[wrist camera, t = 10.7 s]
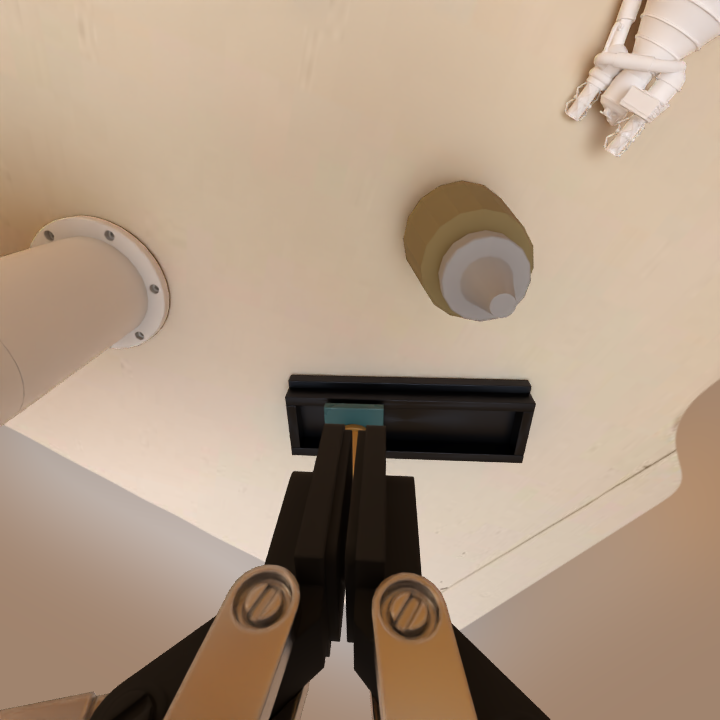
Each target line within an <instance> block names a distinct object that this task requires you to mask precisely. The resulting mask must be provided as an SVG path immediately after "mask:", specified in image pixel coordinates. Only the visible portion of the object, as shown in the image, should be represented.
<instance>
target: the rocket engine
mask: <svg viewBox="0 0 720 720" xmlns="http://www.w3.org/2000/svg"><path fill="white" fill-rule="evenodd" d="M641 3H642V0H623V2H622V5H621V8H620V11H619V13H618V16H617V19H616V23H615V24H614V26H613V28H612V30H611V32H610V35H609V37H608V40H607V42H606V45H605V47H604V50H603V52H602V53H599V54H597V55H596V56H595V58H594V64H595V67H594V68H592V69H591V70H590V71H589V77H588V78H587V80H586V81H587V83H586V82H585V83H584V84H587V85H586V86H582V85H584V84H582V85H580V86H582V87H585V88H584V89H583V90H582V92H581V93H580V95H579V91H578V88H581V87H580V86H578V87H577V91H578V95H579V96H578V97H577V92H576V95H575V96H574V98H573V99H572V100H574V99H576V100H575V101H572V100H570V101H572V102H574V103H573V104H572V106H571V107H570V109H568V111H567V110H566V108H565V110H564V111H565V112H566V111H567V112H566V113H565V114H567V115H568V116H570V117H572V118H573V119H575V120H576V121H578V120H579V121H580V120H581V119H582V118H584V117H585V116H586V114H587V112H586V111H585V109H586V108H587V107H588V108H587V109H589V108H591V105H592V104H593V103H594V102H596V101H598V98H599V96H598V98H597V96H596V94H597V93H598V92H599V95H600V93H602V92H600V90H601V91H605V90H606V91H605V92H604V94H603V95H601V100H600V103H601V104H602V106H603V107H604V109H605V110H604V111H603V112H602V111H600V113H602V114H603V115H605V116H607V121H608V122H609V124H610V125H612V126H614V125H617V124H619V125H618V129H617V130H615V131H616V132H615V133H613V134H616V133H618V134H616V135H617V136H616V137H615V138H614V139H613V140H612V142H611V143H610V144H609V145H608V142H607V137H611V136H615V135H613V134H611V135H609V136H606V141H605V146H606V142H607V147H605V146H603V147H605V148H604V149H605V150H607V151H608V152H610V153H611V154H613V155H615V156H616V157H618V156H619V157H620V155H621V154H623V153H624V152H625V151H626V150H627V149H628V148H629V146H630V144H631V143H632V142H634V139H635V138H636V137H637V136H638V135H640V134H641V132H642V130H643V129H645V128H644V125H645V124H644V123H650V122H651V121H653V119H655V118H656V117H657V116H658V115H660V114H661V113H662V112H664V111H665V110H666V109H667V108H669V106H670V105H669V104H668V102H669V100H670V99H671V98H672V97H673V96H674V95H675V93H676V92H680V91H681V90H682V89H681V87H682V86H683V84H684V82H685V79H686V74H685V70H686V67H687V65H686V63H685V61H683V60H681V59H683V58H684V57H686V56H687V55H689V54H691V53H692V52H694V51H699V50H700V49H701V47H702V46H703V45H705V44H706V43H708V42H709V41H711V40H712V39H714V38H715V37H717V36H720V0H647V3H646V6H645V9H644V12H643V13H642V14H641V15H640V18H641V22H640V26H639V29H638V33H637V34H636V35H635V39H636V40H635V44H634V48H633V52H632V54H631V53H628V50H627V48H626V47H625V46H624V43H625V41H626V38H627V35H628V32H629V29H630V27H631V24H632V23H634V22H635V19H636V17H637V14H638V11H639V8H640V6H641ZM680 60H681V61H680ZM622 70H623V71H622ZM621 71H622V72H621ZM660 73H661V74H660ZM659 74H660V75H659ZM655 76H656V79H657V80H656V81H655V82H654V83H653V85H652V86H651V87H650V88H649V90H648V91H647V90H644V89H645V87H646V85H647V84H648V83H649V82H650V81H651V79H652V77H655ZM614 77H615V79H613V78H614ZM595 96H596V100H593V99H594V97H595ZM570 101H569V102H566V107H567V108H568V104H567V103H571V102H570ZM592 101H594V102H593V103H592V104H590V103H591V102H592ZM589 104H590V105H589ZM584 111H585V115H582V113H583V112H584ZM587 111H588V110H587ZM629 111H630V112H632V113H633V114H634V115H633V116H631V117H627V118H626V119H627V120H625V119H623V118H624V117H625V116H626V115H627V114H628V112H629ZM580 116H584V117H582V118H581V119H579V117H580ZM622 119H623V120H625V121H628V122H627V123H626V125H625V126H624V127H623V128H622V129H621V126H620V122H623V120H622ZM628 119H629V120H628ZM619 126H620V128H619ZM641 127H642V128H641ZM640 128H641V129H642V130H641V132H640V134H639V129H640ZM619 129H620V130H619ZM637 131H638V134H636V133H637ZM635 134H636V135H637V136H636V137H635V138H633V139H632V137H633V136H634V135H635ZM629 141H630V144H629V146H628V148H627V147H626V144H627V143H628V142H629ZM624 147H625V149H626V150H622V149H623V148H624ZM621 151H624V152H623V153H621V154H620V155H618V154H619V153H620V152H621Z"/></svg>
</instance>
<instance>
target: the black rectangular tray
mask: <svg viewBox="0 0 720 720" xmlns="http://www.w3.org/2000/svg"><path fill="white" fill-rule="evenodd" d="M530 391H531V385H530V383H529V381H528V380H491V379H446V378H401V377H356V376H311V375H291V376H290V379H289V389H288V392H287V394H286V397H285V400H286V408H287V416H288V424H289V432H290V441H291V450H292V455H308V456H317V453H318V449H319V445H320V440H321V436H322V431H323V427H324V424H325V418H324V405H325V403H344V404H382V405H384V419H383V426H386V458H394V459H422V460H450V461H479V462H507V463H522V461H523V455H524V452H525V447H526V443H527V439H528V435H529V430H530V426H531V422H532V418H533V413H534V409H535V405H536V403H535V401H534V400H533V398H532V396H531V394H530Z"/></svg>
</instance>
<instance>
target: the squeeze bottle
mask: <svg viewBox="0 0 720 720" xmlns="http://www.w3.org/2000/svg"><path fill="white" fill-rule="evenodd" d="M403 240H404V247H405V253H406V259H407V261H408V262H409V264H410V266H411V268H412V269H413V271H414V273H415V274H416V276H417V278H418V279H419V281H420V283H421V284H422V286H423V288H424V289H425V291H426V292H427V294H428V296H429V297H430V299H431V300H432V302H433V304H434V305H436V306H437V307H439V308H440V309H442V310H443V311H445V312H446V313H448V314H449V315H452V316H457V317H462V318H465V319H470V320H475V321H486V320H492V319H497V318H504V317H507V316H509V315H511V314H512V313H513V312H514V310H515V308H516V306H517V304H518V303H519V302H520V301H521V300H522V299H523V298H524V296H525V294H526V291H527V289H528V286H529V284H530V281H531V273H532V270H533V245H532V243H531V241H530V239H529V237H528V235H527V233H526V230H525V228H524V227H523V225H522V224H521V223H520V222H519V220H518V219H517V218H516V217H515V215H514V214H513V213H512V212H511V210H510V209H509V208H508V207H507V205H506V204H505V203H504V202H503V201H502V199H501V198H500V197H498V196H497V195H496V194H494V193H493V192H492V191H491V190H489V189H488V188H487V187H485V186H484V185H480V184H475V183H470V182H465V181H459V182H455V183H450V184H446V185H441V186H439V187H437V188H436V189H435V190H433V191H432V192H430V193H429V194H427V195H426V196H424V197H423V198H422V199H421V200H420V201H419V202H418V204H417V205H416V207H415V208H414V210H413V211H412V213H411V214H410V216H409V217H408V221H407V225H406V229H405V234H404V238H403Z"/></svg>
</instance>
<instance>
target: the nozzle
mask: <svg viewBox="0 0 720 720" xmlns="http://www.w3.org/2000/svg"><path fill="white" fill-rule="evenodd" d="M324 418H325V423H327V424H345V430H352V438H353V474H354V465H355V455H356V446H357V437H358V430H366V425H379V426H383V419H384V405H382V404H344V403H325V405H324Z"/></svg>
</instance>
